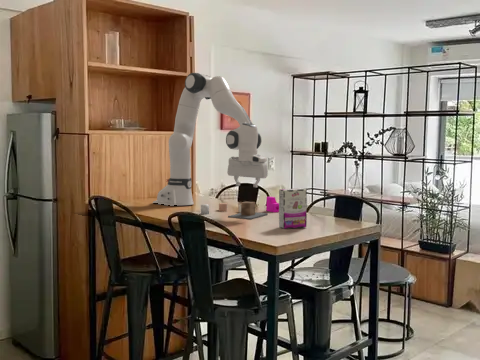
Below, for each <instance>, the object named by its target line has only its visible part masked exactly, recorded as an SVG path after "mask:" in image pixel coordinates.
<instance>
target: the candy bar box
mask: <svg viewBox="0 0 480 360" xmlns="http://www.w3.org/2000/svg"><path fill="white" fill-rule="evenodd" d="M278 190H279V191H278V203H279V212H278V227H279V228H280V229H284V230H286V229H287V230H288V229H289V230H291V229H299V228H300V229H301V228H307V214H308V213H307V211H308V210H307V205H308V201H307V200H308V199H307V196H308V194H307V188H303V187H301V188H284V189H283V188H282V189H278Z"/></svg>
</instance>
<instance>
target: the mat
mask: <svg viewBox="0 0 480 360" xmlns="http://www.w3.org/2000/svg"><path fill="white" fill-rule="evenodd" d="M265 216H268V212H267V213H265V212H257V211H255V215H252V216H246V215H241V212H238V213H235V214H231V215H227V218H231V219H232V218H233V219H240V220H250V221H251V220H255V219H259V218H262V217H265Z"/></svg>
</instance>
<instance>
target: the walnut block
mask: <svg viewBox="0 0 480 360" xmlns="http://www.w3.org/2000/svg"><path fill="white" fill-rule="evenodd" d="M240 204H241V212H240V213H241V215H246V216H252V215H255V212H256V202H255V201H243V202H240Z"/></svg>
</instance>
